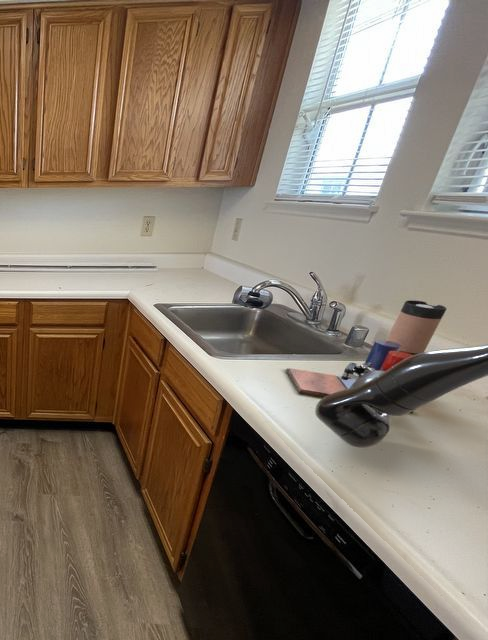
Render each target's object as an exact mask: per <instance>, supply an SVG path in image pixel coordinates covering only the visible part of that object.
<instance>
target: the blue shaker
mask: <svg viewBox="0 0 488 640" xmlns="http://www.w3.org/2000/svg"><path fill="white" fill-rule="evenodd" d="M401 347H402V346H401V345H400V344H398V343H395V342H391V341H387V340H386V339H376V340H374V342H373V345H372V347H371V349H370V351H369V353H368V355H367V357H366V359H365V361H364V363H367V364H368V363H369V362H371V363H373V364H372V366H371V368H374V369H375V370H376V371H377V370H380V368H381V366H382V364H383V362H384V360H385V358H386V356H387V354H388V352H389V351H400V349H401Z"/></svg>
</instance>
